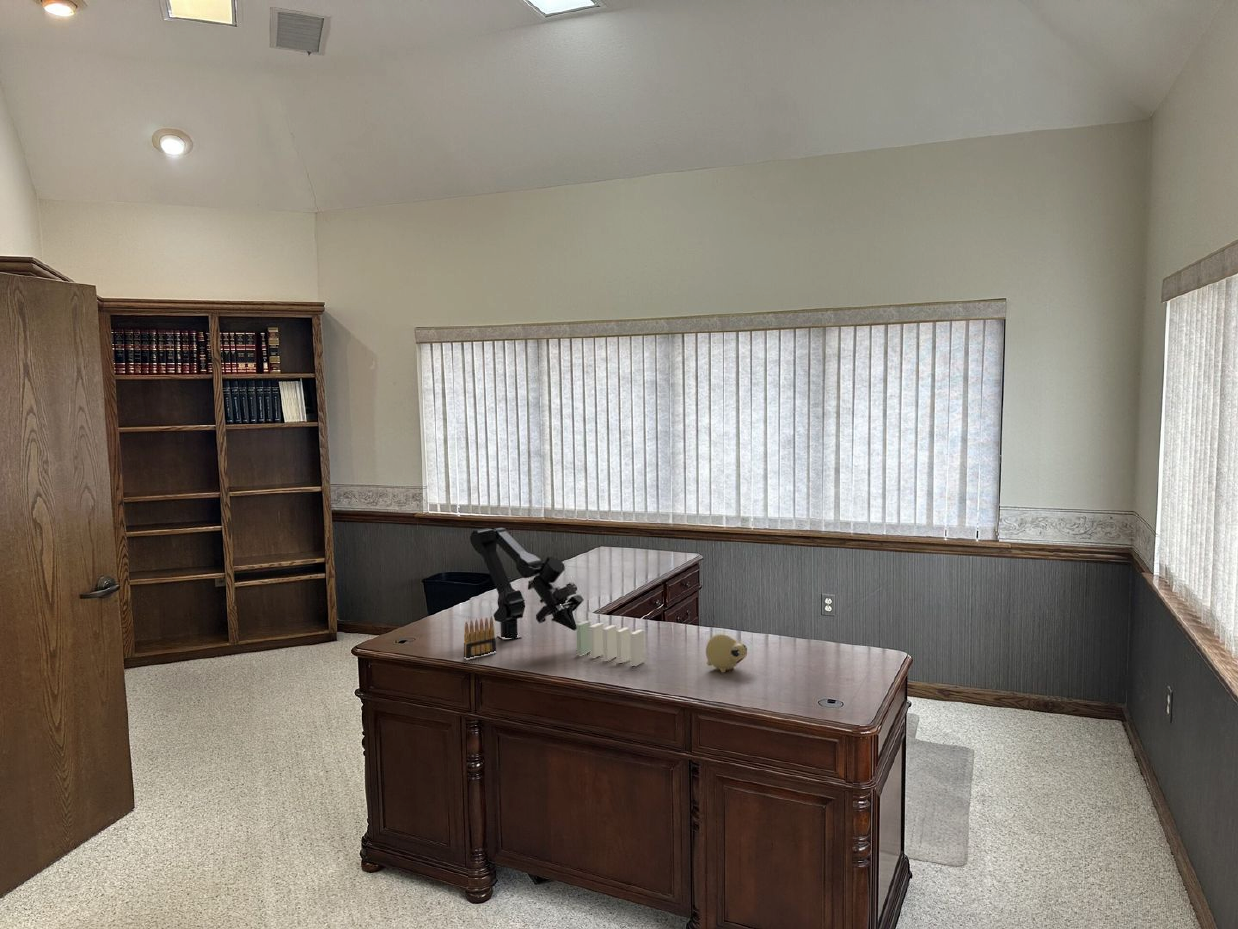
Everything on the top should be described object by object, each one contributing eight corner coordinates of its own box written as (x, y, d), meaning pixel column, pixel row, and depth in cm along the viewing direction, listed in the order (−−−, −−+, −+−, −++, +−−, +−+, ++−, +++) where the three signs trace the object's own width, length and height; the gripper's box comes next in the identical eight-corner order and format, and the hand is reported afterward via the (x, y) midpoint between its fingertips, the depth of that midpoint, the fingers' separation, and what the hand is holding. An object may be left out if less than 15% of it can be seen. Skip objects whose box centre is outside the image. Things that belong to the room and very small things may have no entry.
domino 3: (603, 661, 264) (602, 628, 263) (612, 656, 268) (612, 625, 267) (607, 661, 263) (607, 629, 262) (616, 657, 267) (616, 625, 266)
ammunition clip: (466, 660, 267) (465, 622, 266) (463, 659, 269) (462, 621, 268) (496, 653, 274) (495, 616, 273) (493, 652, 275) (492, 615, 274)
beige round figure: (735, 678, 245) (735, 642, 244) (699, 671, 253) (699, 635, 252) (752, 669, 253) (752, 634, 252) (717, 662, 260) (717, 627, 260)
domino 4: (616, 663, 261) (616, 631, 260) (626, 659, 265) (625, 627, 264) (621, 664, 260) (620, 631, 259) (630, 660, 264) (629, 627, 264)
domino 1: (577, 655, 270) (576, 624, 269) (586, 651, 274) (586, 620, 273) (581, 656, 269) (580, 625, 268) (590, 652, 273) (590, 621, 272)
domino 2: (590, 658, 267) (589, 626, 266) (599, 654, 271) (598, 622, 270) (594, 659, 266) (593, 627, 265) (603, 654, 270) (603, 623, 269)
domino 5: (630, 666, 258) (630, 633, 257) (639, 661, 262) (639, 629, 262) (635, 667, 257) (634, 634, 257) (644, 662, 262) (643, 630, 261)
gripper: (541, 581, 266) (571, 620, 261) (578, 570, 282) (606, 607, 276) (523, 603, 271) (551, 642, 266) (559, 591, 287) (587, 628, 281)
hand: (575, 629), depth 272 cm, fingers closed
